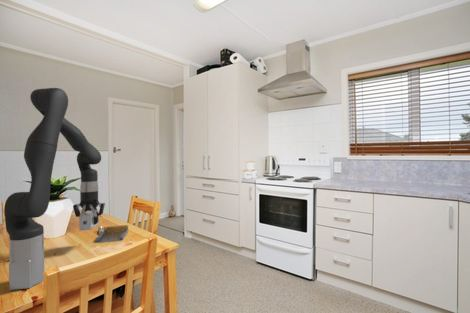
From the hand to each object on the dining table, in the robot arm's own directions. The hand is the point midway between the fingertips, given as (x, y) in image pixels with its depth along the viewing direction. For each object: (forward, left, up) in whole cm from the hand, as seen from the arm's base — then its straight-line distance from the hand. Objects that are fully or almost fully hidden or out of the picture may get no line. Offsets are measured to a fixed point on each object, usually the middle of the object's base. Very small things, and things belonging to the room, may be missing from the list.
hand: (89, 224), depth 113 cm
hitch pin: (+21, +2, -12) cm, 24 cm away
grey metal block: (0, 0, -1) cm, 1 cm away
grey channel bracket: (+13, -7, -12) cm, 19 cm away
